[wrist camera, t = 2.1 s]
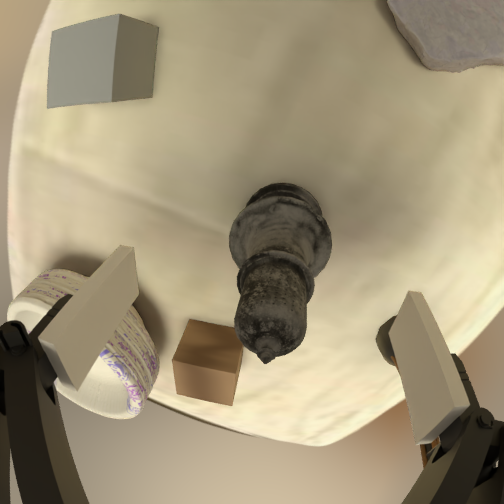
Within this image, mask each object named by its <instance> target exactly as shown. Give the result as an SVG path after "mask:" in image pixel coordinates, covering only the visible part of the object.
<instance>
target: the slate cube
mask: <svg viewBox="0 0 504 504" xmlns="http://www.w3.org/2000/svg"><path fill="white" fill-rule="evenodd" d="M158 30H159V27H156V26H153V25H151V24H148V23H145V22H143V21H140V20H137V19H134V18H131V17H128V16H125V15H122V14H116V15H111V16H106V17H102V18H98V19H93V20H89V21H86V22H82V23H78V24H75V25H71V26H68V27H64V28H61V29H58V30H55V31H52V36H51V44H50V54H49V67H48V85H47V109H49V108H56V107H64V106H72V105H82V104H93V103H107V102H117V101H125V100H133V99H142V98H152V93H153V79H154V67H155V56H156V47H157V38H158Z"/></svg>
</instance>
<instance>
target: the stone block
mask: <svg viewBox="0 0 504 504" xmlns="http://www.w3.org/2000/svg"><path fill="white" fill-rule="evenodd" d="M387 3H388V6H389V8H390V10H391V12H392V13H393V15H394V19H395V22H396V25H397V29H398V31H399V32H400V33H401V34H402V35H403V36H404V38H405V39H406V40H407V41H408V43H409V44H410V46H411V47H412V49H413V50H414V51H415V52H416V54H417V56H418V57H419V58H420V60H421V62H422V64H423V65H424V66H426V67H427V68H428V69H430V70H435V71H449V72H461V71H464V70H466V69H469V68H475V67H477V66H480V65H484V64H487V65H504V0H387Z"/></svg>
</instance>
